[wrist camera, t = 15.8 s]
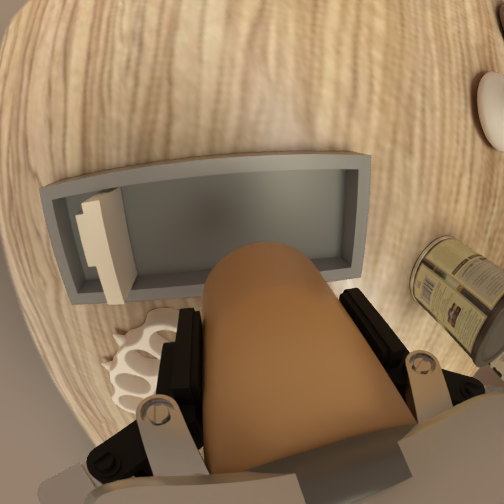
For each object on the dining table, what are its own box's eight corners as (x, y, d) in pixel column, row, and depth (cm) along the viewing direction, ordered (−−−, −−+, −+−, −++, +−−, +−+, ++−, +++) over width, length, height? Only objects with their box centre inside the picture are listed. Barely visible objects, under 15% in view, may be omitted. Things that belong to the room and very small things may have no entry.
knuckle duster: (186, 413, 37) (95, 378, 32) (249, 338, 32) (131, 285, 28) (186, 430, 34) (89, 395, 29) (253, 358, 29) (123, 303, 24)
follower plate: (137, 274, 25) (124, 304, 21) (96, 277, 25) (78, 306, 20) (120, 186, 22) (99, 200, 17) (76, 194, 21) (49, 209, 17)
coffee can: (463, 277, 34) (524, 328, 21) (414, 315, 35) (471, 381, 22) (457, 220, 29) (537, 268, 17) (402, 261, 30) (480, 331, 18)
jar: (317, 335, 15) (395, 506, 5) (209, 349, 14) (224, 547, 5) (326, 234, 12) (490, 426, 3) (192, 246, 12) (173, 524, 2)
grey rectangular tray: (345, 260, 29) (360, 277, 26) (84, 285, 26) (71, 304, 23) (351, 151, 24) (371, 155, 21) (58, 180, 22) (39, 188, 18)
